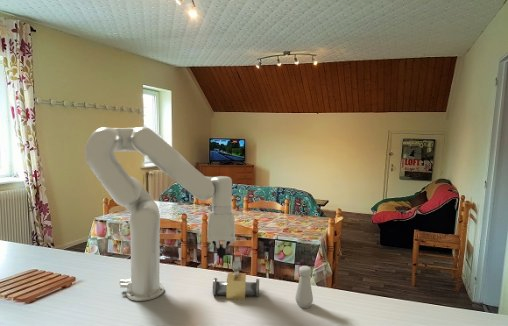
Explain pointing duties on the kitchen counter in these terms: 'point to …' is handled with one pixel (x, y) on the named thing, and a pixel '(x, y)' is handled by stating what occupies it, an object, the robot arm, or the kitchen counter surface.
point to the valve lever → (237, 261)
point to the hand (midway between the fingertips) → (221, 257)
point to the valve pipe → (236, 286)
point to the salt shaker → (304, 288)
